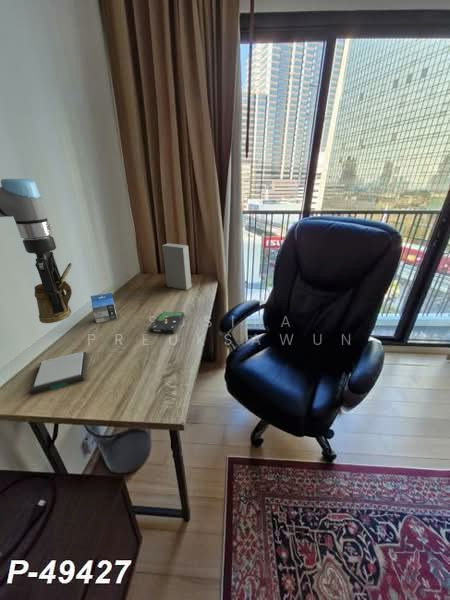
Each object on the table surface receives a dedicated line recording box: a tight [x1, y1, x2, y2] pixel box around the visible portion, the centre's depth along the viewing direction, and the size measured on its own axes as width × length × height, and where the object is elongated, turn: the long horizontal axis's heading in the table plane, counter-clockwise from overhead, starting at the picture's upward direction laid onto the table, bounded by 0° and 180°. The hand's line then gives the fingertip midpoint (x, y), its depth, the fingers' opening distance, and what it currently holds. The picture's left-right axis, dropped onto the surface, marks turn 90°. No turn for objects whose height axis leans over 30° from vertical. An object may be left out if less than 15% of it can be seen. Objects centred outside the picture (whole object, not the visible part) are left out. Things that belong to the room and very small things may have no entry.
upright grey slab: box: [161, 242, 193, 291], centre depth 143 cm, size 14×6×25 cm, turn 65°
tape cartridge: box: [90, 292, 118, 324], centre depth 112 cm, size 9×4×12 cm, turn 112°
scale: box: [30, 351, 88, 395], centre depth 83 cm, size 14×14×3 cm
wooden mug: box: [33, 262, 73, 324], centre depth 80 cm, size 9×14×18 cm, turn 105°
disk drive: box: [150, 310, 185, 335], centre depth 110 cm, size 10×3×15 cm
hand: (61, 306), depth 83 cm, fingers closed on wooden mug, 7 cm apart
